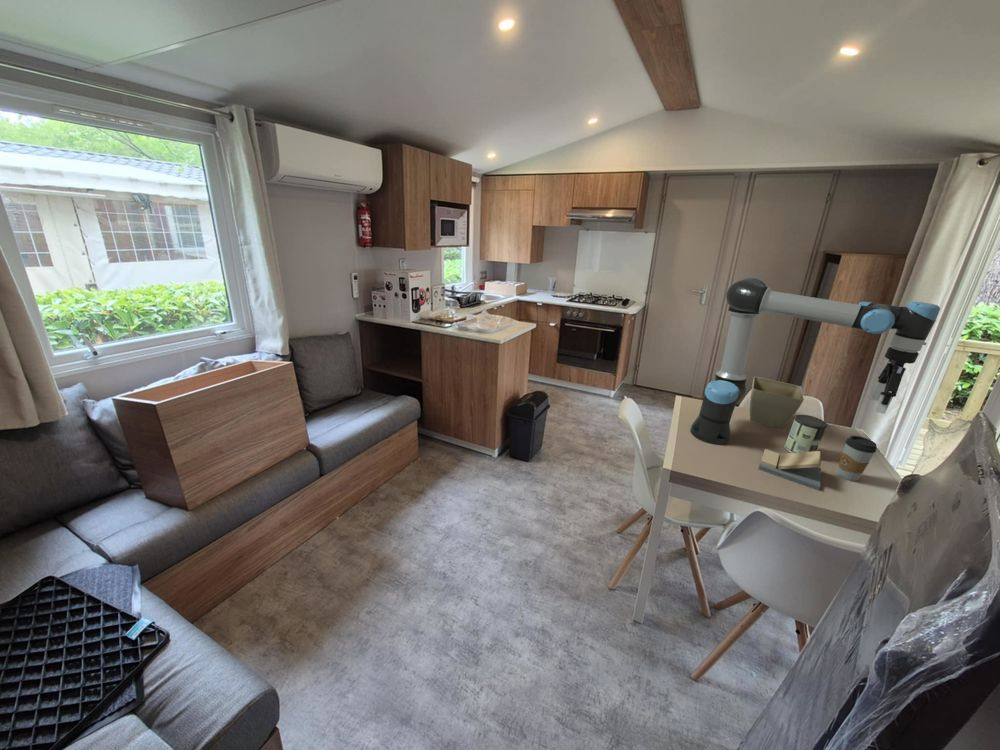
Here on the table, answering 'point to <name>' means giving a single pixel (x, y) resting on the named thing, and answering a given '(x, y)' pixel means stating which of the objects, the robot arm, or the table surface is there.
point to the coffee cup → (855, 457)
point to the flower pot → (774, 401)
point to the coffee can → (805, 434)
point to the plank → (800, 460)
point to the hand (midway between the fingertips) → (877, 406)
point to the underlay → (790, 471)
